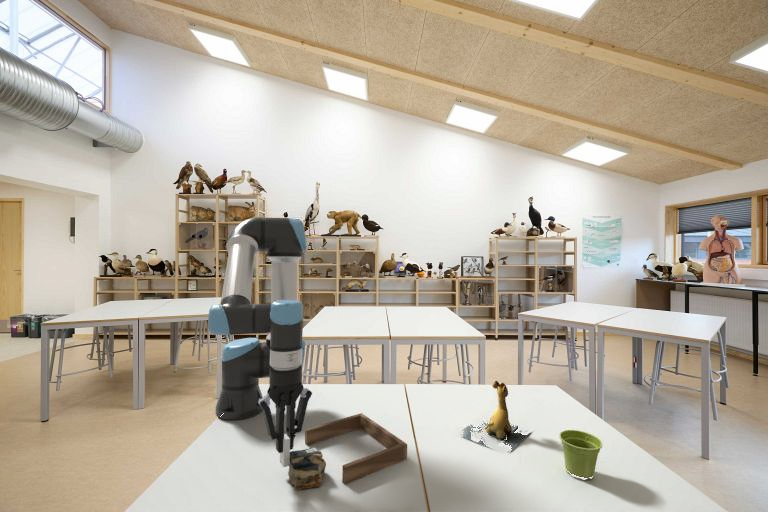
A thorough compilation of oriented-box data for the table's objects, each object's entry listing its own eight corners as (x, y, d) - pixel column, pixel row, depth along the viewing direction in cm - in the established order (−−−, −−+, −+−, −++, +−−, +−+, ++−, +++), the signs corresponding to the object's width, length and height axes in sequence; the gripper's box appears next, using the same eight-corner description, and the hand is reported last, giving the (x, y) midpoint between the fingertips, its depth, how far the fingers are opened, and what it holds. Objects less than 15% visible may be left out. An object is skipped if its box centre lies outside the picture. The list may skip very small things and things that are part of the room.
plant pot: (600, 490, 86) (601, 453, 86) (556, 476, 91) (556, 441, 91) (602, 470, 94) (603, 436, 94) (561, 458, 99) (561, 426, 99)
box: (305, 443, 105) (305, 429, 105) (361, 425, 116) (361, 413, 116) (344, 484, 87) (345, 467, 87) (407, 459, 98) (407, 444, 98)
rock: (294, 494, 83) (294, 468, 83) (286, 471, 92) (286, 448, 92) (331, 484, 87) (332, 460, 87) (320, 462, 95) (321, 440, 95)
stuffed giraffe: (532, 432, 114) (531, 379, 114) (507, 458, 100) (506, 398, 100) (484, 417, 125) (482, 369, 124) (455, 439, 111) (453, 385, 111)
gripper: (263, 375, 83) (262, 481, 83) (317, 365, 90) (316, 462, 90) (253, 366, 89) (252, 464, 89) (305, 357, 96) (303, 448, 97)
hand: (284, 463), depth 90 cm, fingers closed
